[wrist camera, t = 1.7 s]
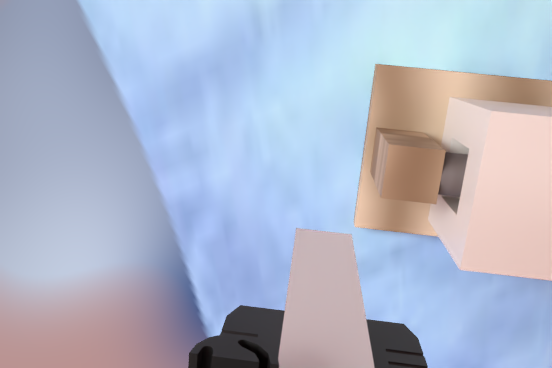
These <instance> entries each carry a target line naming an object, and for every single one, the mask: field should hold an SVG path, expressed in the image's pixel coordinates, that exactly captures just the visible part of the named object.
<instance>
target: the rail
mask: <svg viewBox="0 0 552 368" xmlns="http://www.w3.org/2000/svg"><path fill="white" fill-rule="evenodd" d="M450 97H457V98H467V99H477V100H487V101H498V102H508V103H518V104H528V105H538V106H548V107H552V81H548V80H538V79H527V78H517V77H506V76H496V75H486V74H475V73H465V72H454V71H444V70H433V69H423V68H412V67H402V66H392V65H381V64H375V71H374V78H373V85H372V93H371V100H370V107H369V114H368V122H367V129H366V136H365V143H364V151H363V158H362V165H361V172H360V180H359V187H358V194H357V201H356V209H355V216H354V225H355V227H360V228H369V229H377V230H386V231H395V232H404V233H412V234H421V235H430V236H438V235H437V233H436V232H435V230H434V229H433V227H432V225H431V224H430V222H429V221H428V216H429V211H430V205H431V204H436V203H437V197H438V195H447V196H457V197H460V195H461V190H462V185H463V179H464V174H465V169H466V164H467V158H468V154H459V153H450V152H446V150H445V149H443V148H442V147H441V143H442V137H443V132H444V126H445V120H446V115H447V109H448V103H449V98H450ZM438 237H439V236H438Z"/></svg>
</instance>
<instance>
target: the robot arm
mask: <svg viewBox="0 0 552 368" xmlns="http://www.w3.org/2000/svg"><path fill="white" fill-rule="evenodd" d="M427 367H428V366H427V363H426V360H425V358H424V356H423V352H422V349H421V346H420V343H419V340H418V338H417V337H416V336H415V335H414V334H413V333H412V332H411V331H410V330H409V329H408V328H407V327H406V326H405V325H404V324H399V323H391V322H383V321H375V320H367V319H366V315H365V309H364V304H363V298H362V292H361V286H360V281H359V275H358V269H357V263H356V257H355V252H354V246H353V240H352V234H343V233H334V232H326V231H317V230H308V229H300V228H296V234H295V241H294V248H293V255H292V263H291V270H290V277H289V284H288V291H287V298H286V305H285V311H282V310H274V309H266V308H258V307H250V306H242V305H240V306H239V307H238V308H236V309H235V310H234V311H233V312H231V313H230V314H229V315H227V317H226V320H225V323H224V325H223V328H222V332H221V334H220V335H219V336H214V337H209V338H207V339H205V340H203V341H201V342H200V343H198V344H196V345H195V347H194V348H193V349H192V350H191V352H190V353H189V367H188V368H427Z"/></svg>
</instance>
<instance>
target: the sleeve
mask: <svg viewBox="0 0 552 368" xmlns="http://www.w3.org/2000/svg"><path fill="white" fill-rule="evenodd" d="M441 147H442V148H443V149H445V150H446V152H450V153H459V154H468V158H467V164H466V169H465V174H464V179H463V185H462V190H461V195H460V197H457V196H447V195H438V197H437V203H436V204H431V205H430V211H429V216H428V221H429V222H430V224H431V225H432V227H433V229H434V230H435V232H436V233H437V235H438V236H439V238H440V239H441V241H442V243H443V244H444V246H445V247H446V249H447V250H448V252H449V253H450V255H451V257H452V258H453V260H454V261H455V263H456V264H457V266H458V268H459V269H460V270H466V271H475V272H483V273H492V274H500V275H508V276H517V277H525V278H534V279H542V280H551V281H552V107H548V106H538V105H528V104H518V103H508V102H498V101H487V100H477V99H467V98H457V97H450V98H449V103H448V109H447V115H446V120H445V126H444V132H443V137H442V143H441Z"/></svg>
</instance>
